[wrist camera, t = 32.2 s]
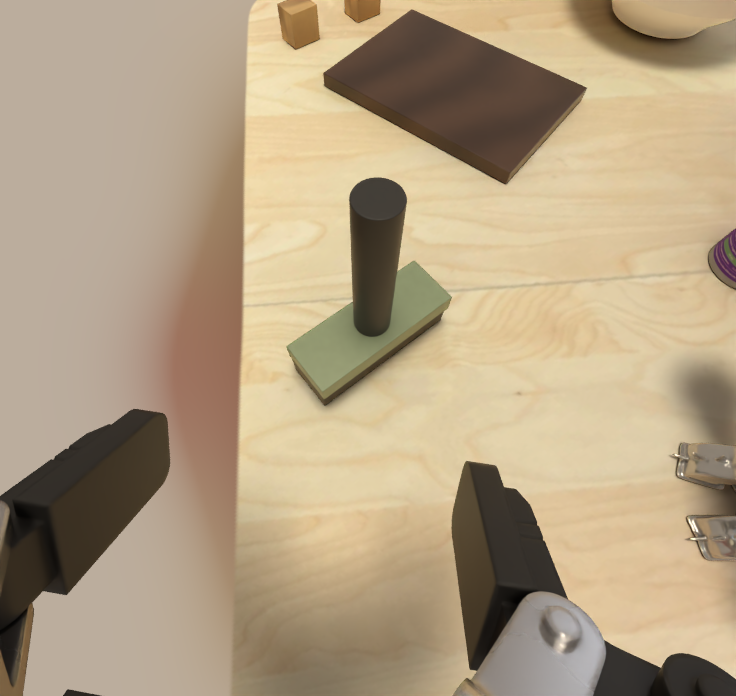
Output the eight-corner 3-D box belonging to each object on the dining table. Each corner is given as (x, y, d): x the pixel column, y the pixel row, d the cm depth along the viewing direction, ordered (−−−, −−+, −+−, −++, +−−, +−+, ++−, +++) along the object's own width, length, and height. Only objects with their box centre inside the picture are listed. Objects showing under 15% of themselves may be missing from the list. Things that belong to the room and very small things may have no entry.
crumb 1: (295, 49, 41) (282, 38, 42) (319, 39, 42) (306, 28, 42) (290, 14, 38) (277, 3, 39) (316, 4, 39) (302, -7, 40)
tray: (324, 85, 39) (323, 72, 37) (410, 22, 43) (411, 8, 42) (505, 184, 34) (510, 172, 32) (581, 100, 38) (587, 87, 37)
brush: (294, 366, 26) (240, 232, 15) (408, 286, 29) (441, 119, 17) (326, 408, 25) (296, 299, 13) (443, 321, 28) (502, 166, 16)
